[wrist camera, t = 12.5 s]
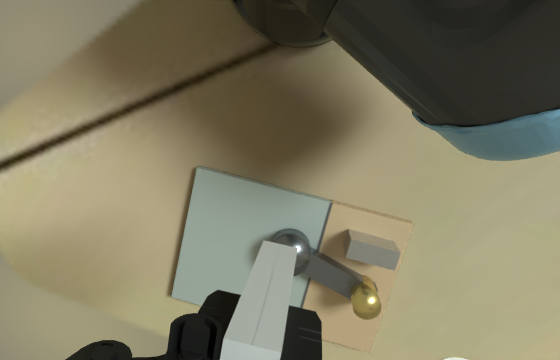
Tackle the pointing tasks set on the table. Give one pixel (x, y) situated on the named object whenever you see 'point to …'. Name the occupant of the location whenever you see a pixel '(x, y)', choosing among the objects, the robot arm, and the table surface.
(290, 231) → the swing bar
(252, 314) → the robot arm
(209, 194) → the door board
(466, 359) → the wineglass
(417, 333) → the table surface
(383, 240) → the block
